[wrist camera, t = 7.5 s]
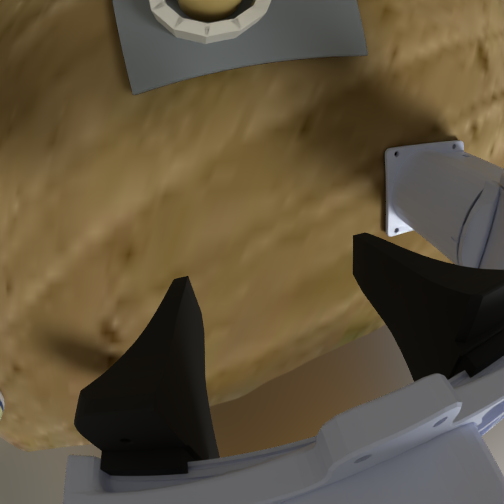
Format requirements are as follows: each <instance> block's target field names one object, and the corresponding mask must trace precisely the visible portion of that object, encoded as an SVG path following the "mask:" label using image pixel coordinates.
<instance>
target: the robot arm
mask: <svg viewBox="0 0 504 504" xmlns="http://www.w3.org/2000/svg"><path fill="white" fill-rule="evenodd" d="M452 146H453V147H452ZM396 151H397V154H396V156H395V155H394V154H395V152H396ZM385 171H386V234H387V235H388V236H390V237H391V236H395V235H398V234H402V233H405V232H408V231H412V230H415V231H416V232H417V233H418V234H420V235H421V236H422V237H423V238H425V239H426V240H427V241H428V242H430V243H431V244H432V245H433V246H434V247H436V248H437V249H438V250H439V251H440V252H442V253H443V254H444V255H445V256H446V257H448V258H449V259H450V260H451V261H452V262H453V263H454V264H450V263H446V262H442V261H439V260H436V259H432V258H429V257H426V256H423V255H420V254H418V253H415V252H412V251H410V250H407V249H405V248H402V247H400V246H398V245H395V244H393V243H391V242H388V241H386V240H384V239H381V238H379V237H376V236H374V235H371V234H368V233H361V234H357V235H353V275H354V277H355V279H356V281H357V283H358V285H359V286H360V288H361V290H362V292H363V293H364V294H365V296H366V297H367V299H368V300H369V301H370V303H371V304H372V306H373V307H374V308H375V310H376V311H377V312H378V314H379V315H380V317H381V318H382V319H383V321H384V322H385V323H386V325H387V326H388V328H389V330H390V331H391V333H392V335H393V336H394V338H395V340H396V342H397V344H398V346H399V348H400V350H401V352H402V354H403V357H404V359H405V361H406V363H407V365H408V368H409V370H410V372H411V375H412V377H413V380H414V382H413V383H411V384H409V385H406V386H404V387H402V388H400V389H398V390H395V391H393V392H391V393H389V394H386V395H384V396H381V397H379V398H376V399H374V400H371V401H369V402H366V403H364V404H361V405H358V406H356V407H353V408H351V409H349V410H347V411H344V412H342V413H340V414H338V415H336V416H334V417H333V418H332V419H330V420H329V421H327V422H326V423H325V424H323V426H322V427H321V429H320V431H319V433H318V434H317V436H314V437H311V438H308V439H304V440H301V441H297V442H293V443H289V444H286V445H282V446H278V447H274V448H269V449H265V450H260V451H256V452H251V453H245V454H240V455H236V456H229V457H223V458H220V457H219V452H218V448H217V444H216V439H215V435H214V430H213V425H212V420H211V414H210V409H209V403H208V396H207V390H206V381H205V344H204V327H203V320H202V313H201V310H200V307H199V305H198V302H197V299H196V297H195V294H194V291H193V288H192V286H191V283H190V280H189V277H188V276H186V277H181V278H177V279H174V280H173V282H172V284H171V285H170V287H169V289H168V291H167V293H166V295H165V297H164V299H163V300H162V302H161V304H160V306H159V307H158V309H157V311H156V313H155V314H154V316H153V317H152V319H151V321H150V322H149V324H148V325H147V327H146V328H145V330H144V331H143V332H142V334H141V335H140V336H139V338H138V339H137V340H136V341H135V343H134V344H133V345H132V346H131V347H130V348H129V349H128V350H127V351H126V353H125V354H124V355H123V356H122V357H121V358H120V359H119V360H118V361H117V362H116V363H115V364H114V365H113V366H112V367H111V368H109V369H108V370H107V371H106V372H105V373H104V374H102V375H101V376H100V377H99V378H97V379H96V380H95V381H93V382H92V383H91V384H89V385H88V386H87V387H85V388H84V389H82V390H81V391H80V395H79V399H78V404H77V409H76V414H75V419H74V425H75V427H76V429H77V430H78V432H79V433H80V434H81V435H82V436H83V437H85V438H86V439H87V440H88V441H90V442H91V443H92V444H94V445H95V446H96V447H97V448H99V449H100V450H101V451H102V455H101V459H100V458H98V457H94V456H82V455H69V456H68V460H67V468H66V476H65V486H64V499H63V504H504V476H503V474H502V473H501V470H500V469H499V467H498V465H497V463H496V461H495V459H494V458H493V456H492V454H491V452H490V450H489V449H488V447H487V445H486V443H485V442H484V440H483V439H482V435H484V434H485V433H486V432H487V431H489V430H490V429H491V428H492V427H494V426H495V425H496V424H497V423H498V422H500V421H501V420H502V419H503V418H504V169H503V168H501V167H499V166H497V165H494V164H492V163H490V162H488V161H485V160H483V159H481V158H478V157H476V156H473V155H471V154H469V153H466V152H464V144H463V142H462V141H460V140H453V141H443V142H433V143H424V144H416V145H408V146H400V147H393V148H388V149H387V150H386V151H385ZM395 229H396V230H395ZM394 230H395V231H394ZM455 264H456V265H455Z"/></svg>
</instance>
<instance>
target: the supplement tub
mask: <svg viewBox="0 0 504 504" xmlns="http://www.w3.org/2000/svg"><path fill="white" fill-rule="evenodd" d="M3 410H4V398H3V395H2V393H1V391H0V420H1V416H2V413H3Z"/></svg>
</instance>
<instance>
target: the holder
mask: <svg viewBox="0 0 504 504" xmlns="http://www.w3.org/2000/svg"><path fill="white" fill-rule="evenodd" d="M112 1H113V7H114V12H115V17H116V22H117V27H118V32H119V37H120V42H121V46H122V51H123V55H124V60H125V64H126V68H127V73H128V77H129V81H130V85H131V89H132V93H133V95H137V94H140V93H143V92H146V91H149V90H152V89H155V88H159V87H162V86H165V85H169V84H172V83H176V82H179V81H183V80H187V79H191V78H195V77H199V76H203V75H207V74H212V73H216V72H221V71H226V70H230V69H236V68H241V67H247V66H253V65H259V64H266V63H273V62H280V61H289V60H298V59H309V58H323V57H343V56H366V55H368V52H367V46H366V41H365V36H364V31H363V26H362V21H361V17H360V13H359V8H358V4H357V0H242V1H241V3H240V5H239V7H238V8H237V10H236V11H235V12H234V13H233V14H231V15H230V16H228V17H227V18H224V19H222V20H219V21H213V22H203V21H198V20H195V19H192V18H190V17H189V16H187V15H186V14H185V13H184V12H183V11H182V10H181V8H180V6H179V4H178V0H112Z"/></svg>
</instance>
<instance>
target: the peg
mask: <svg viewBox="0 0 504 504" xmlns="http://www.w3.org/2000/svg"><path fill="white" fill-rule="evenodd" d="M241 1H242V0H178V4H179V6H180V8H181V10H182V11H183V12H184V13H185V14H186V15H187V16H189V17H190V18H192V19H195V20H198V21H203V22H213V21H219V20H222V19H224V18H227V17H228V16H230V15H231V14H233V13H234V12H235V11H236V10H237V8H238V7H239V5H240V3H241Z"/></svg>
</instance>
